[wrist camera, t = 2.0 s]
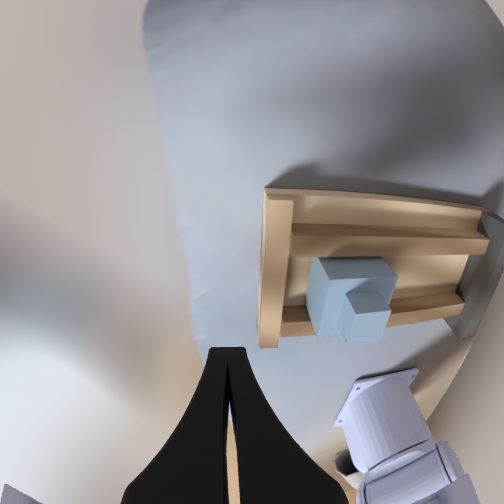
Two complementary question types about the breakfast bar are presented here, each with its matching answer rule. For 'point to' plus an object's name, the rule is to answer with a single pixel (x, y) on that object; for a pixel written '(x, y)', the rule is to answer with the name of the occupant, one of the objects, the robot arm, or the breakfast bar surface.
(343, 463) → the tube
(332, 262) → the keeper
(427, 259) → the track
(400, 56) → the breakfast bar surface
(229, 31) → the breakfast bar surface
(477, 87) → the breakfast bar surface
